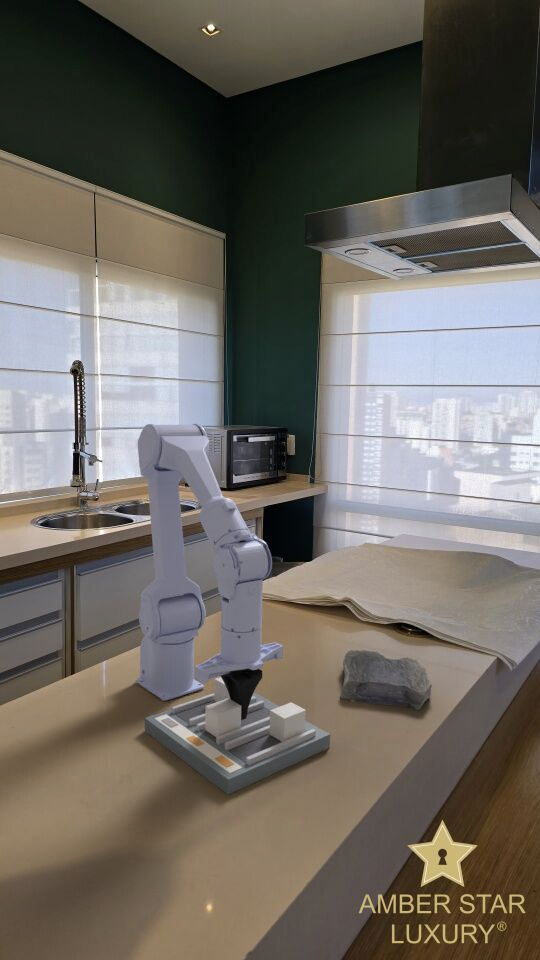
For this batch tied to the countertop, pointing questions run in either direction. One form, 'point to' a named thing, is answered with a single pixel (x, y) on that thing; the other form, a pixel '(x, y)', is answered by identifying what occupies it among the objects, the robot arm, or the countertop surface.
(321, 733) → the switch panel
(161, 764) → the countertop surface
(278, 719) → the tab right
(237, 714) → the tab middle
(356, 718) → the countertop surface
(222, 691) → the tab left
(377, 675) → the grey rock
